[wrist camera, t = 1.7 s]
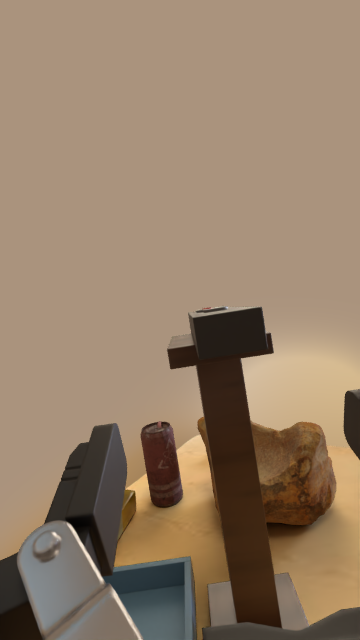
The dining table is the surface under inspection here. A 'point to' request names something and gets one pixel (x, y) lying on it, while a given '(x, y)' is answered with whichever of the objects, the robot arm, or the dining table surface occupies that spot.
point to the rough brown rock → (290, 472)
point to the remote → (227, 331)
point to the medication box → (127, 509)
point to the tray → (158, 597)
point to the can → (161, 464)
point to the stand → (238, 497)
